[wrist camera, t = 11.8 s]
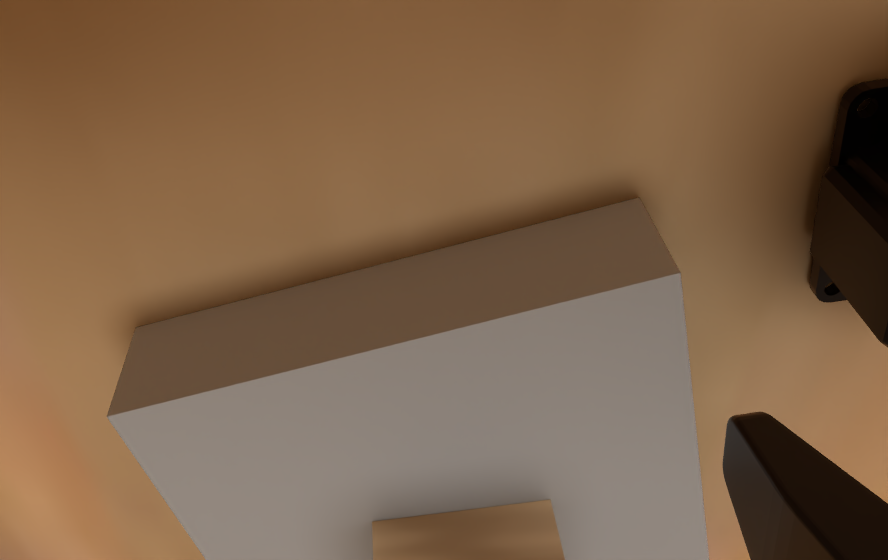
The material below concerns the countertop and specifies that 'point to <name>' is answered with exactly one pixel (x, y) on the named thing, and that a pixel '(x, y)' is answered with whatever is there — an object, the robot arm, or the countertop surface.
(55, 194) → the countertop surface
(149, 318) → the countertop surface
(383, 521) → the beech block
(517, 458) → the grey riser
